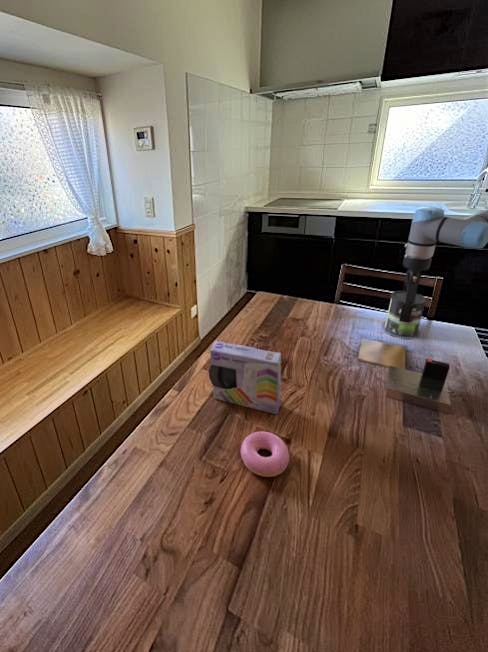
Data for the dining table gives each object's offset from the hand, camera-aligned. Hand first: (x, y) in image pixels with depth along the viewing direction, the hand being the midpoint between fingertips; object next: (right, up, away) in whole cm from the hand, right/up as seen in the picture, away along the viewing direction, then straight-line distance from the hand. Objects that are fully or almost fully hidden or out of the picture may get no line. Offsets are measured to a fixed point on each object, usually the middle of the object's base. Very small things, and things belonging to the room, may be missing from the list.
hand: (404, 312), depth 118 cm
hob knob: (-10, -18, -27) cm, 34 cm away
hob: (-13, -20, -24) cm, 34 cm away
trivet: (-13, -13, -8) cm, 20 cm away
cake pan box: (-61, -24, -24) cm, 69 cm away
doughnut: (-59, -31, -41) cm, 78 cm away
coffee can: (+1, -7, +3) cm, 8 cm away
